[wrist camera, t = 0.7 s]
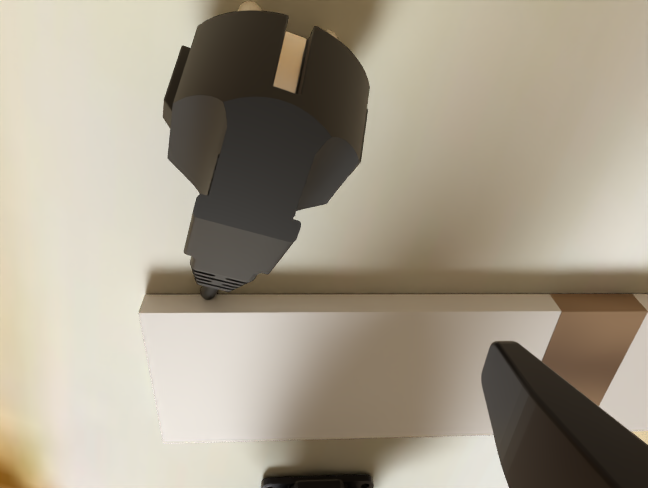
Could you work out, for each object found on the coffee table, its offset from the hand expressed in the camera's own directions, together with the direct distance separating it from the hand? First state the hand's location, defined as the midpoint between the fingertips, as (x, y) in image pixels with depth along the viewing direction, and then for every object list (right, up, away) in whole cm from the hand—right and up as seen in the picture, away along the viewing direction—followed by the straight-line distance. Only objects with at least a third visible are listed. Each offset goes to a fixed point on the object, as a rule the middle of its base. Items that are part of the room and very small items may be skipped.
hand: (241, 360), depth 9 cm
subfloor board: (+8, -4, +16) cm, 18 cm away
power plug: (-1, +5, +10) cm, 12 cm away
